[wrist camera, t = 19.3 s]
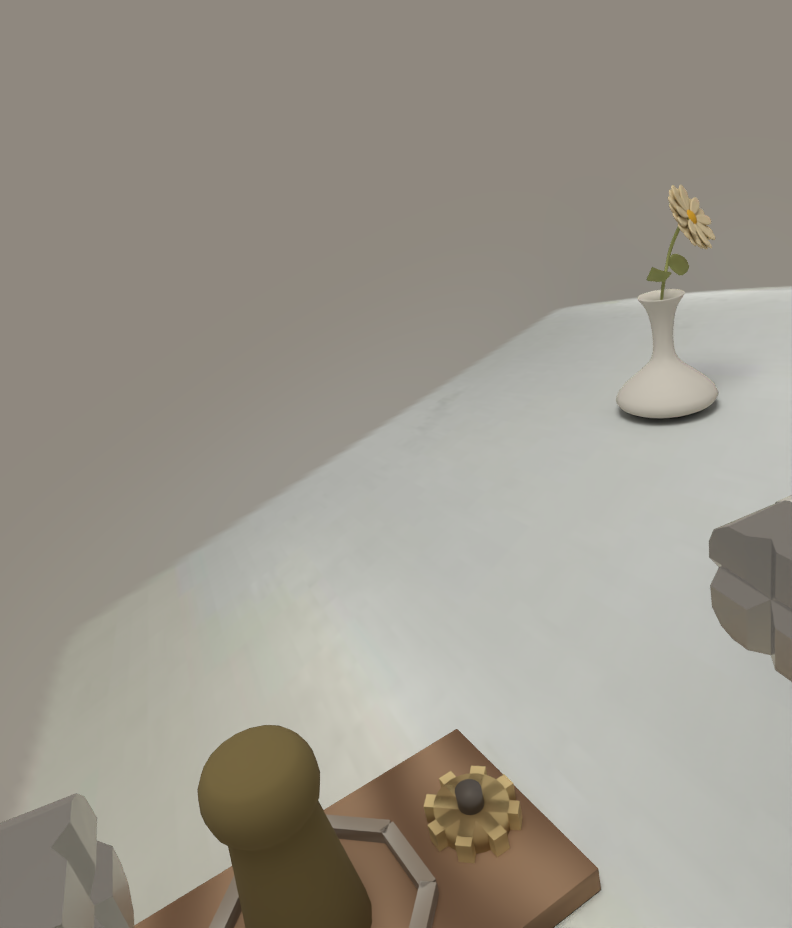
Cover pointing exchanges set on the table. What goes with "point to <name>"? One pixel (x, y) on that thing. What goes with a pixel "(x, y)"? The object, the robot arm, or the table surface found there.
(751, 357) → the table surface
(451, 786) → the gear board
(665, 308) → the flower in vase
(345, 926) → the cork
